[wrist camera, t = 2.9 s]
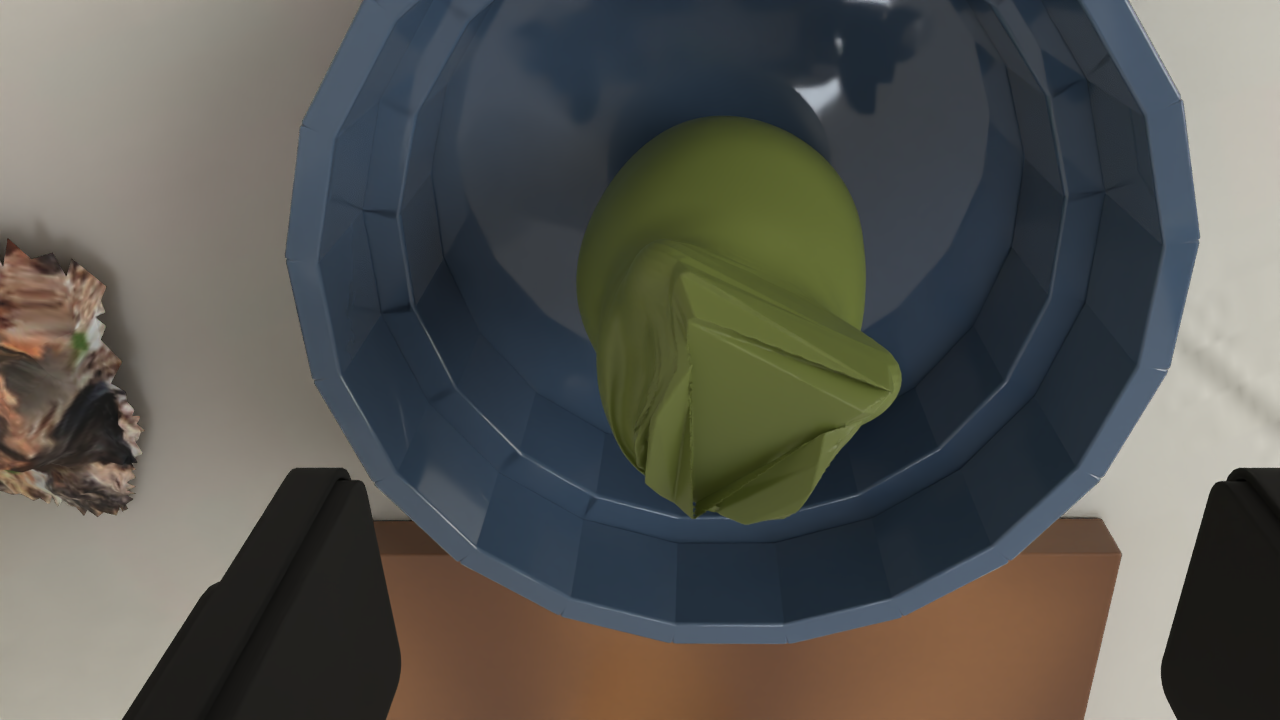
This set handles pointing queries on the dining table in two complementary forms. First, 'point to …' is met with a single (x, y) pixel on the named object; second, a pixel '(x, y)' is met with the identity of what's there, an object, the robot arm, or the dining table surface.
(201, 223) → the dining table surface
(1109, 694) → the dining table surface
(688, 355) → the pear
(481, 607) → the cutting board
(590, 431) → the bowl
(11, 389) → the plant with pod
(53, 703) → the dining table surface
